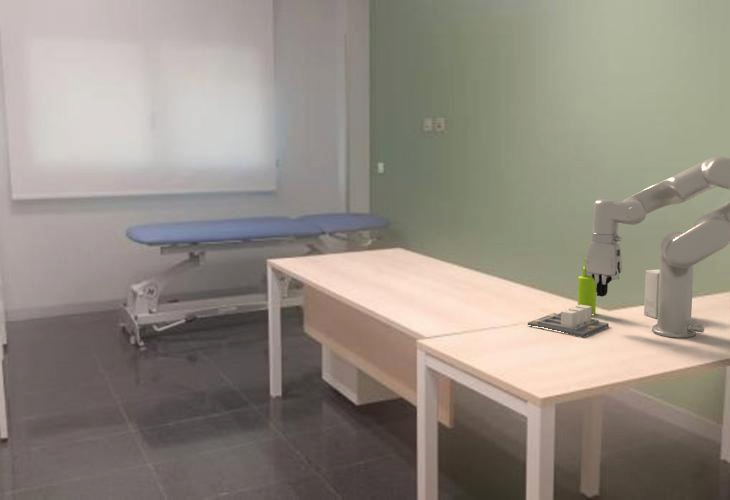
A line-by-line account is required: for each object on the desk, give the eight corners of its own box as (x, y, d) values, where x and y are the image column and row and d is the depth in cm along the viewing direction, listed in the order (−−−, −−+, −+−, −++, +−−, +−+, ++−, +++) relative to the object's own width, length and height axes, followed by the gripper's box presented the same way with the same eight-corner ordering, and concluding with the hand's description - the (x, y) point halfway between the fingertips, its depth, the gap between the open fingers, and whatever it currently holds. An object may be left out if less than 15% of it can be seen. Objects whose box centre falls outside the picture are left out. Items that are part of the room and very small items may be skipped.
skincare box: (655, 319, 229) (657, 273, 227) (642, 314, 235) (644, 270, 233) (676, 316, 231) (678, 271, 229) (663, 312, 237) (664, 268, 235)
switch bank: (608, 326, 221) (608, 320, 221) (583, 337, 211) (583, 331, 210) (554, 316, 236) (554, 310, 236) (527, 326, 225) (527, 320, 225)
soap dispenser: (585, 317, 234) (586, 260, 230) (574, 312, 240) (575, 256, 237) (600, 315, 235) (602, 258, 232) (589, 311, 242) (590, 255, 238)
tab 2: (584, 324, 220) (584, 309, 220) (579, 325, 218) (579, 310, 218) (572, 321, 223) (573, 307, 223) (568, 323, 221) (568, 308, 221)
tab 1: (576, 326, 217) (577, 311, 217) (571, 328, 215) (572, 313, 215) (565, 324, 220) (565, 309, 220) (560, 326, 218) (560, 311, 218)
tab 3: (591, 321, 224) (591, 306, 223) (586, 323, 222) (586, 308, 221) (580, 319, 226) (580, 304, 226) (575, 321, 224) (575, 306, 224)
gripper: (633, 240, 212) (629, 297, 215) (588, 235, 222) (586, 290, 225) (621, 242, 207) (618, 301, 210) (576, 237, 217) (574, 293, 220)
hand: (601, 295), depth 218 cm, fingers closed
